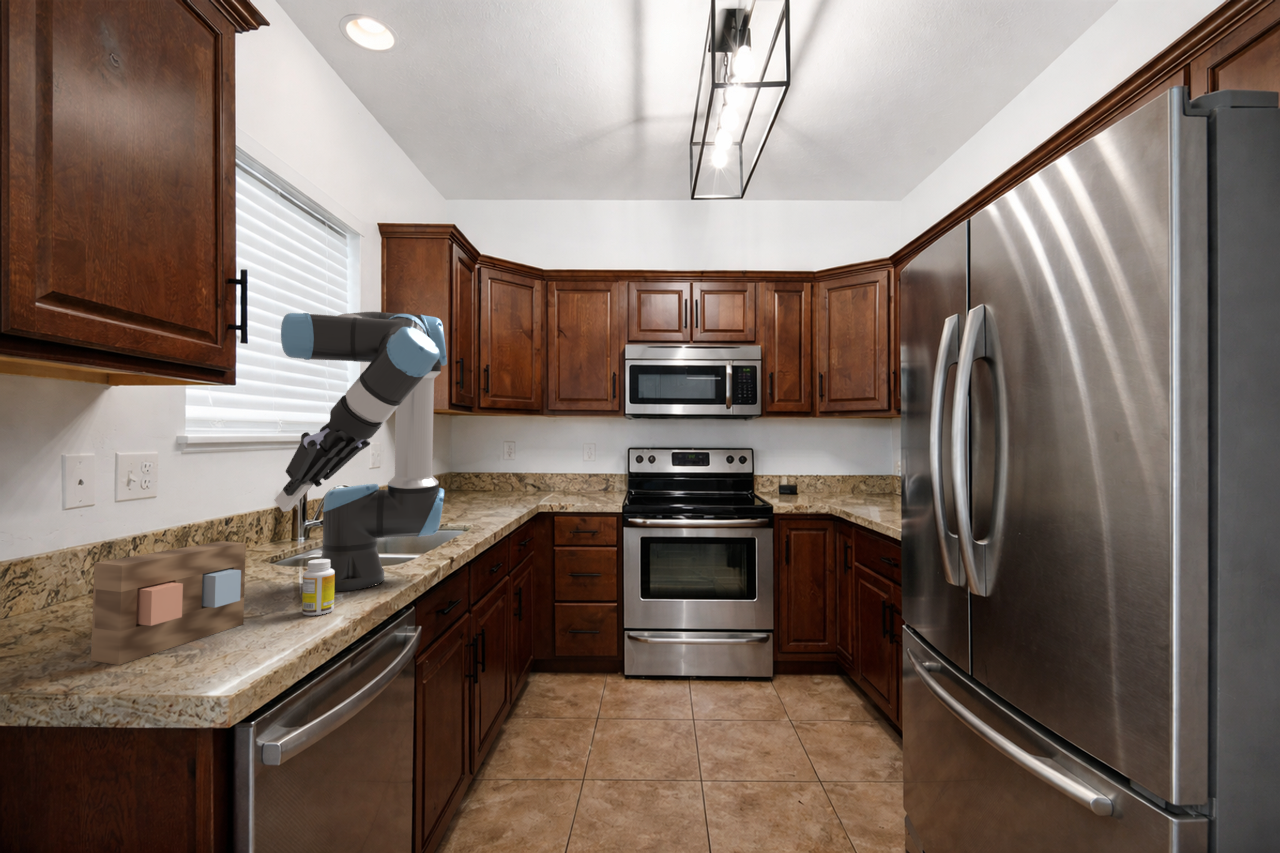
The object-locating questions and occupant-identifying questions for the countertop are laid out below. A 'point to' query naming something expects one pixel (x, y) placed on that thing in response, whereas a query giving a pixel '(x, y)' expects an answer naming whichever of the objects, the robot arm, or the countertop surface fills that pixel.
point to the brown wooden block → (121, 578)
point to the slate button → (221, 587)
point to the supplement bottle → (318, 588)
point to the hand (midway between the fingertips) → (282, 505)
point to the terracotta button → (159, 603)
